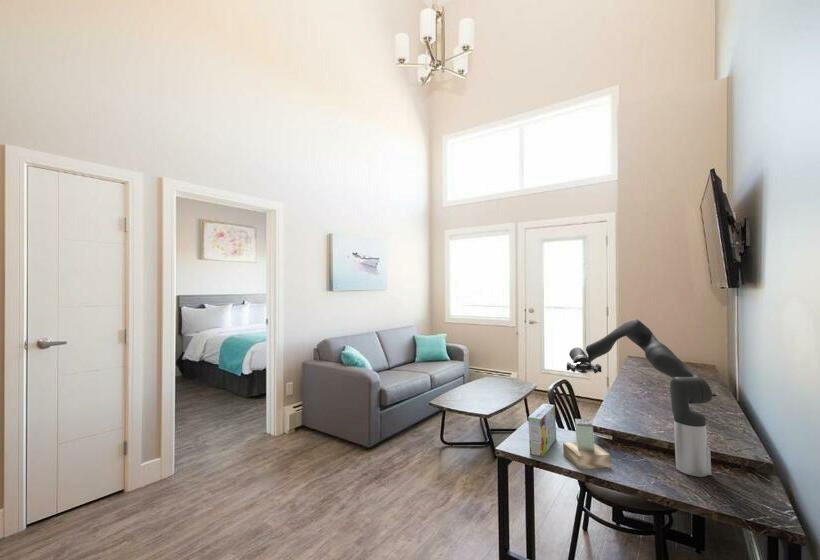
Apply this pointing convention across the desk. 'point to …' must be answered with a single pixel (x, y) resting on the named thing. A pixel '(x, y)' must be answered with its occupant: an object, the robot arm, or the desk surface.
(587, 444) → the tea tin
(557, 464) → the desk surface
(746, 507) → the desk surface
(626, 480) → the desk surface
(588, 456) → the birch block
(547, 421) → the snack box
